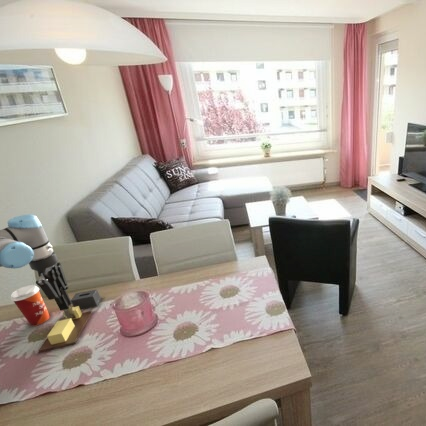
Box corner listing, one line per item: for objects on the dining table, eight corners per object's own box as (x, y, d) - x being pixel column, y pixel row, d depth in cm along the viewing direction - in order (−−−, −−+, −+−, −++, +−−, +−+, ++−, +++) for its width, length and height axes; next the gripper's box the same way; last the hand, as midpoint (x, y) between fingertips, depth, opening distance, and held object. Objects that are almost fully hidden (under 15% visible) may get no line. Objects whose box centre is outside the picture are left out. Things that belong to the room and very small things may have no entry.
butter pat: (66, 320, 117) (62, 312, 116) (69, 316, 120) (65, 308, 118) (79, 317, 119) (76, 310, 117) (82, 313, 121) (78, 306, 119)
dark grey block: (75, 310, 124) (70, 300, 122) (80, 303, 128) (75, 293, 126) (97, 306, 126) (92, 296, 124) (101, 298, 130) (96, 289, 128)
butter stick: (51, 344, 106) (46, 336, 105) (61, 329, 113) (57, 321, 112) (65, 341, 108) (61, 333, 106) (75, 325, 115) (71, 318, 113)
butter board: (39, 352, 105) (38, 350, 104) (61, 319, 119) (60, 317, 119) (75, 344, 108) (74, 342, 107) (92, 312, 122) (91, 311, 122)
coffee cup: (50, 322, 118) (34, 293, 112) (24, 331, 114) (5, 300, 108) (55, 310, 125) (40, 281, 119) (30, 317, 121) (13, 288, 115)
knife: (67, 320, 116) (51, 290, 110) (69, 317, 118) (53, 287, 112) (75, 319, 117) (60, 288, 111) (77, 316, 119) (62, 286, 113)
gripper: (42, 264, 100) (69, 317, 110) (62, 244, 113) (84, 293, 123) (15, 269, 98) (45, 322, 108) (39, 248, 111) (63, 297, 120)
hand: (66, 306), depth 115 cm, fingers closed on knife, 2 cm apart
